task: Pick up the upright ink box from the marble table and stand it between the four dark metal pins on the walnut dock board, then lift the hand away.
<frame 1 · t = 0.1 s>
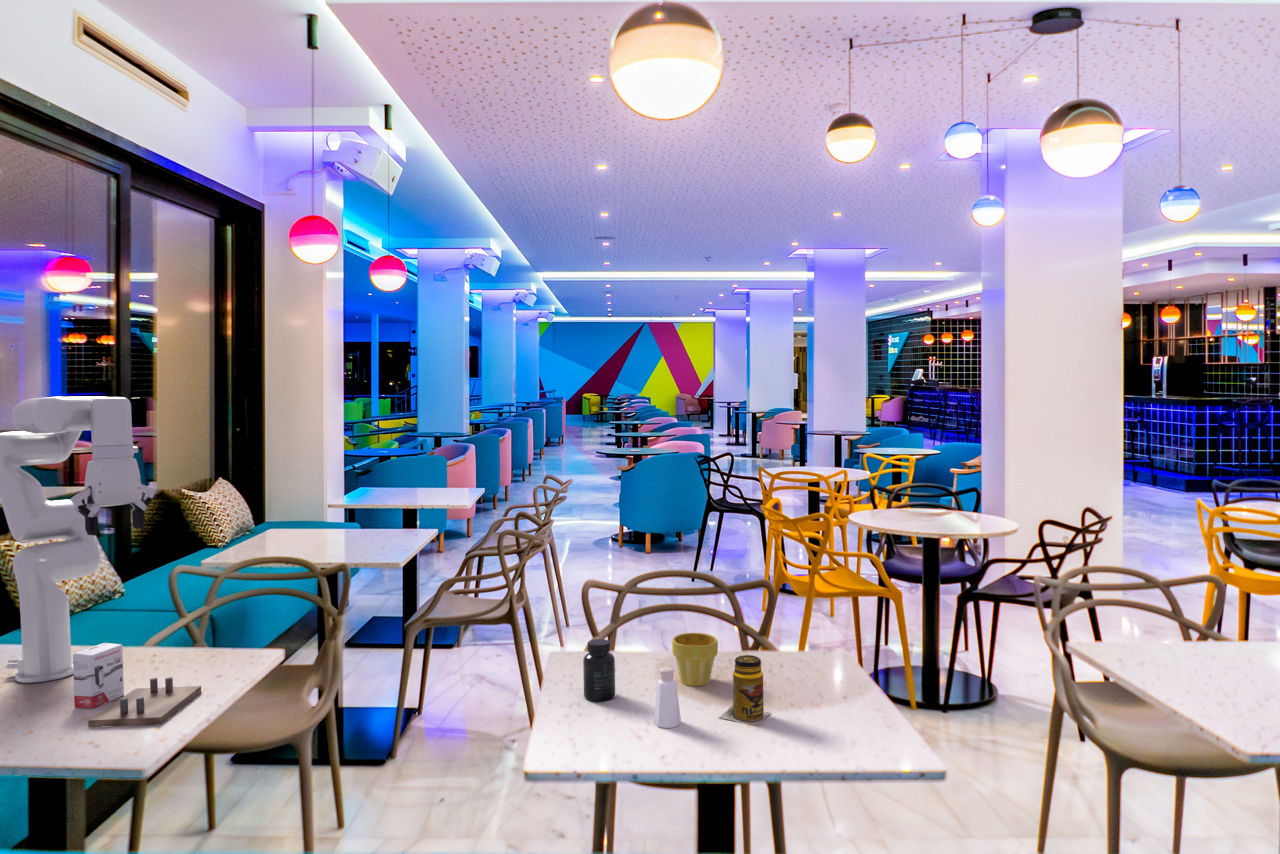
hand: (116, 531, 180), 37 cm above the table, tool pointing down, fingers open, 9 cm apart
pin dock: (147, 709, 175), on the table
salt shaker: (667, 724, 164), on the table
ink box: (100, 702, 180), on the table
condiment: (744, 717, 167), on the table
supplement bottle: (599, 697, 179), on the table
plant pot: (695, 682, 187), on the table
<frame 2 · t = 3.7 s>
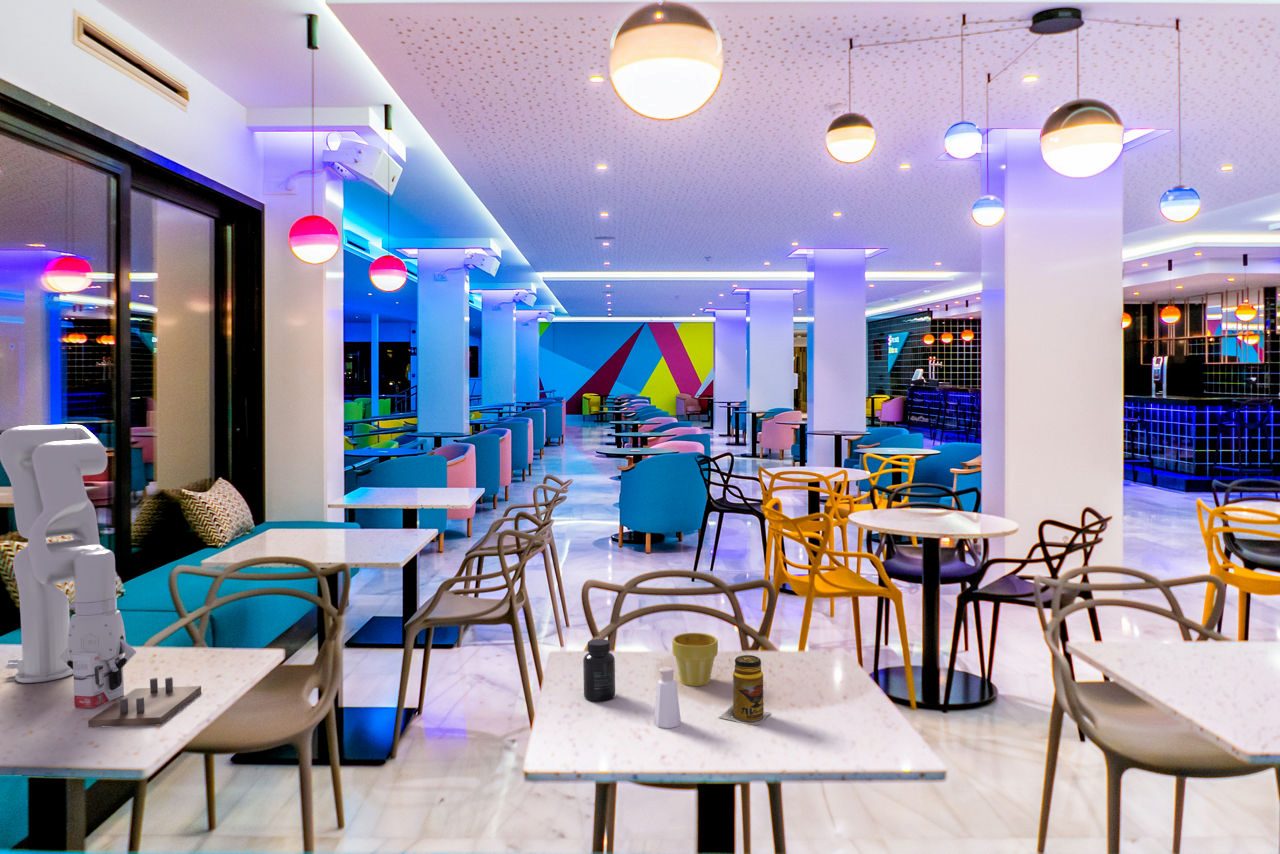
hand: (99, 687, 180), 3 cm above the table, tool pointing down, fingers closed on ink box, 5 cm apart
ink box: (100, 702, 180), on the table, touching gripper
everything else where it was.
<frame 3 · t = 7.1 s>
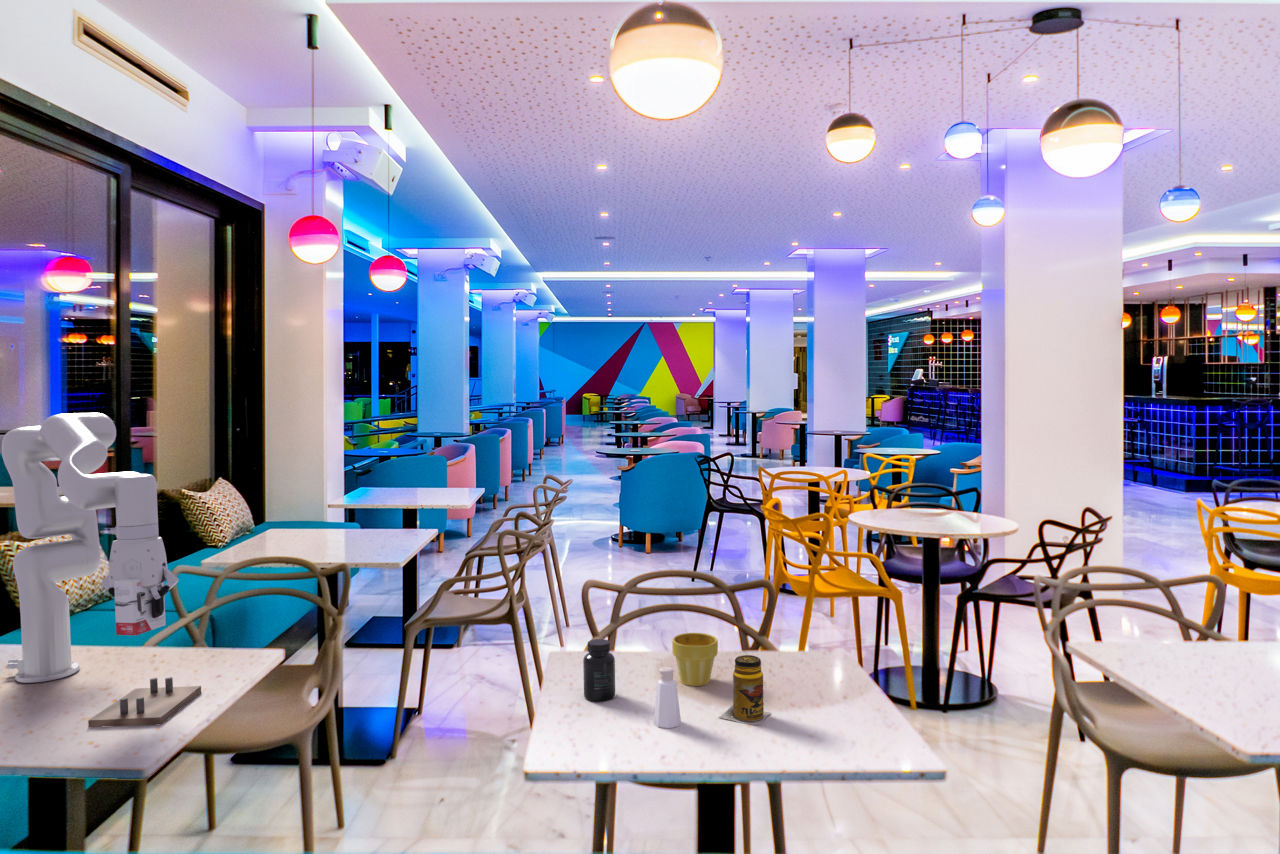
hand: (141, 616, 175), 20 cm above the table, tool pointing down, fingers closed on ink box, 5 cm apart
ink box: (141, 631, 175), point 17 cm above the table, touching gripper
everything else where it was.
when the fingers open (5 cm above the table, at t = 10.7 s): ink box stays where it is, resting on pin dock.
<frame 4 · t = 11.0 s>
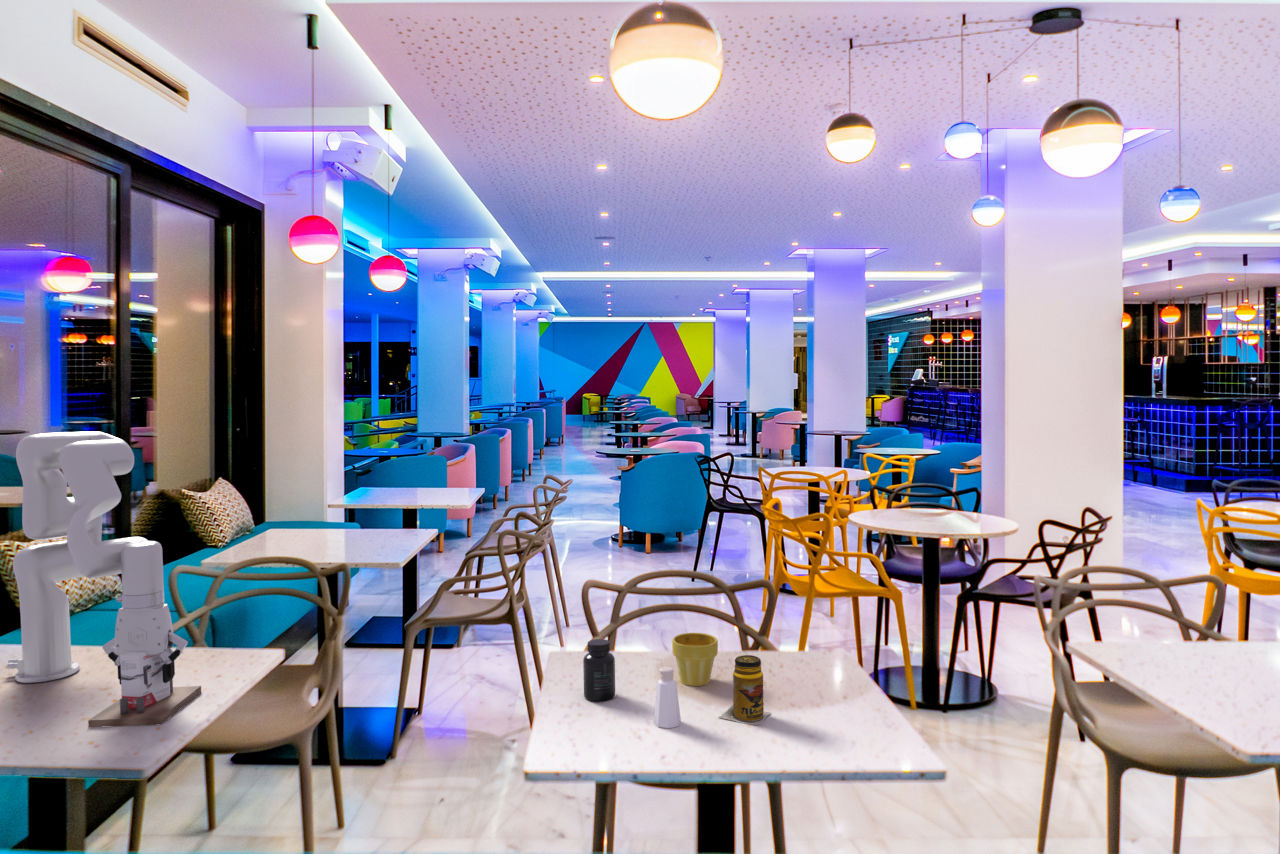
hand: (146, 681, 175), 6 cm above the table, tool pointing down, fingers open, 8 cm apart
ink box: (147, 703, 175), point 1 cm above the table, touching pin dock
everything else where it was.
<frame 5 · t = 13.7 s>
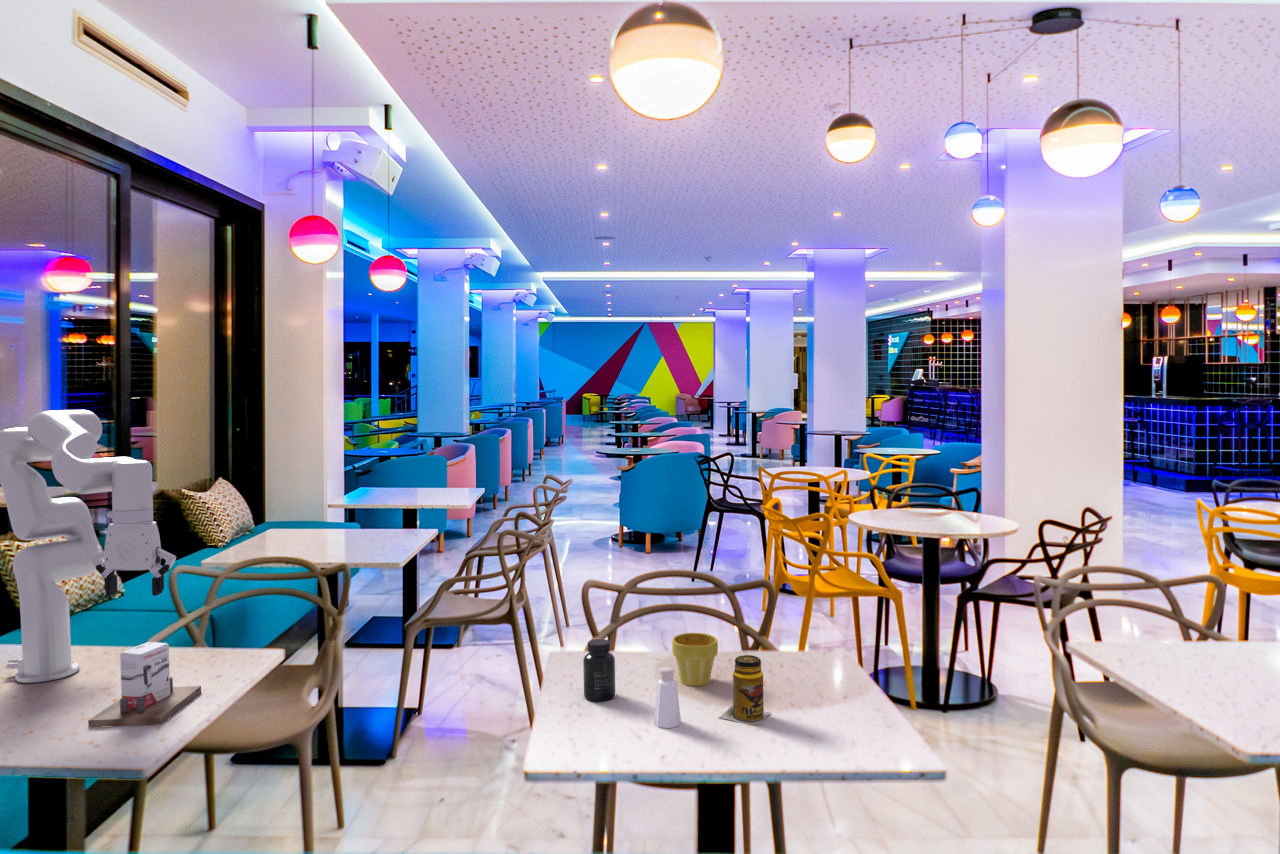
hand: (134, 594, 180), 23 cm above the table, tool pointing down, fingers open, 9 cm apart
nothing on the table moved.
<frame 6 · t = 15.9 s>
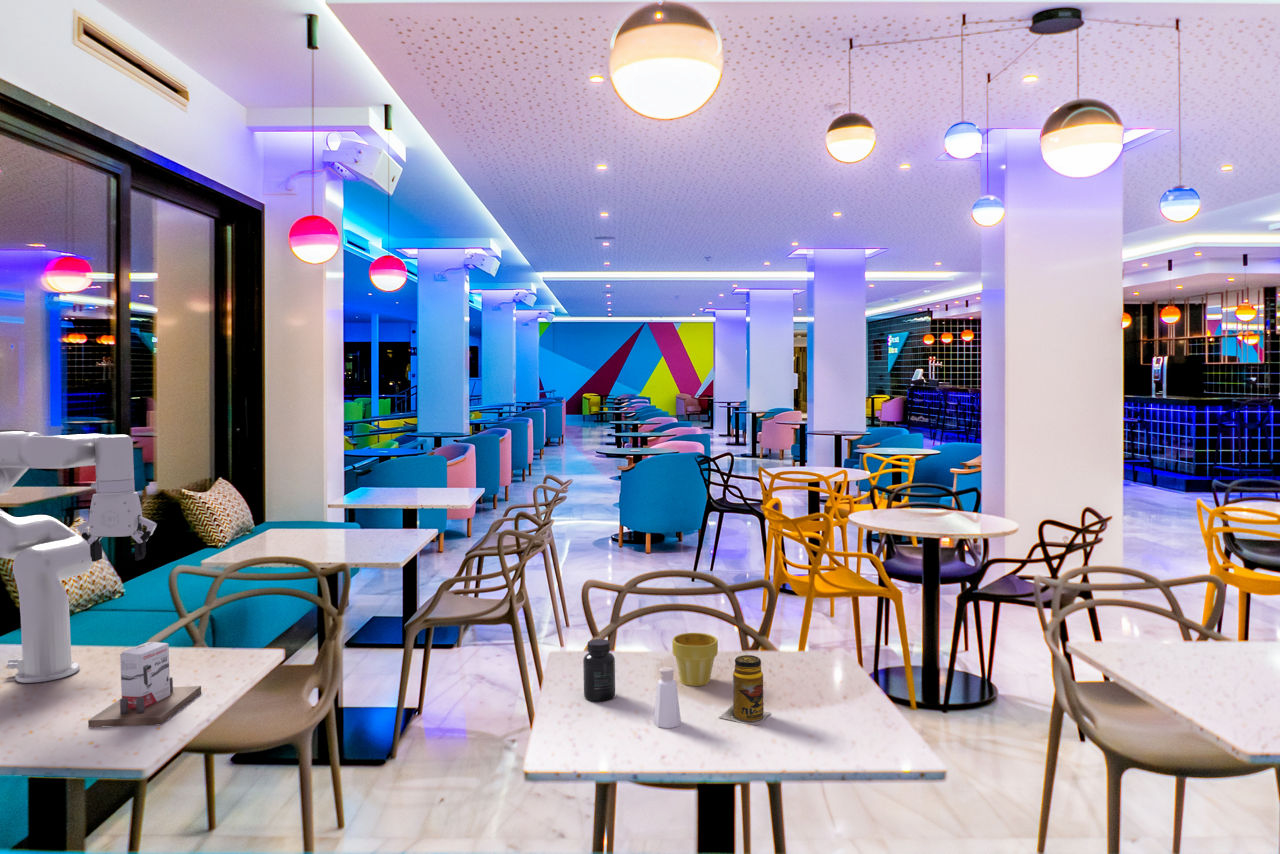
hand: (118, 559, 194), 28 cm above the table, tool pointing down, fingers open, 9 cm apart
nothing on the table moved.
at the end: ink box 0.2 cm off-centre on the pin dock, point 1.3 cm above the pin dock's base; ink box tilted 0°; the gripper is holding nothing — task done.
